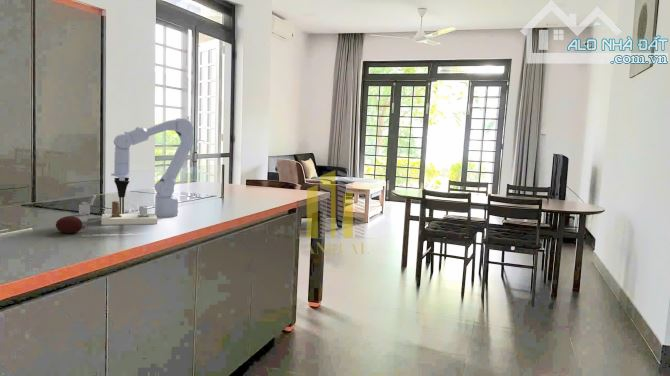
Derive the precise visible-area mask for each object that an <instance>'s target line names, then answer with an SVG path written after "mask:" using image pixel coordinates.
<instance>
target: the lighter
mask: <svg viewBox="0 0 670 376" xmlns="http://www.w3.org/2000/svg"><path fill="white" fill-rule="evenodd" d="M96 198H97V196H96V195H94V194H91V195H90V196H89V198H88V199H89V200H88V201H82V202H81V204H79V205H78V215H79V216H86V214H88V215H91V206H93V205H94V203H95V201H96Z"/></svg>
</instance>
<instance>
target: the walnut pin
mask: <svg viewBox="0 0 670 376" xmlns="http://www.w3.org/2000/svg"><path fill="white" fill-rule="evenodd" d="M120 205H121V202H120V201H118V200H117V201H116V200H115V201H112V202H111V214H112V217H120V214H121V213H120V212H121V206H120Z"/></svg>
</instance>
